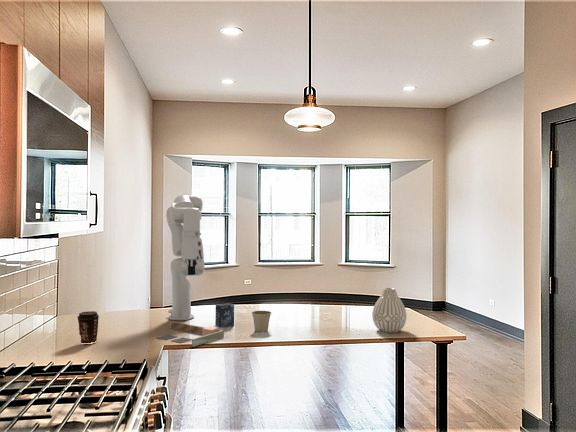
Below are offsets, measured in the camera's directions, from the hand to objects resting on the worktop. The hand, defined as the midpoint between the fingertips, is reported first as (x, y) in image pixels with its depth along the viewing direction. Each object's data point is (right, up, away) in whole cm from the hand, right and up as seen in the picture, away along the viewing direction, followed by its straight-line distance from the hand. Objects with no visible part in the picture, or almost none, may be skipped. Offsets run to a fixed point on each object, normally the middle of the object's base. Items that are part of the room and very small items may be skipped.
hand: (191, 274), depth 232 cm
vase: (+92, -28, +7) cm, 97 cm away
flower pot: (+32, -27, +6) cm, 42 cm away
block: (+10, -27, -8) cm, 30 cm away
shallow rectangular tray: (-4, -27, -6) cm, 28 cm away
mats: (-6, -27, -10) cm, 29 cm away
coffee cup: (-41, -27, -17) cm, 52 cm away
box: (+13, -27, +17) cm, 35 cm away
